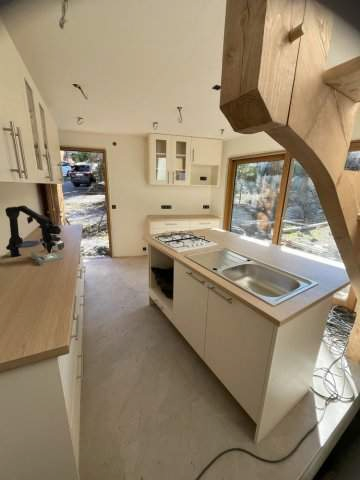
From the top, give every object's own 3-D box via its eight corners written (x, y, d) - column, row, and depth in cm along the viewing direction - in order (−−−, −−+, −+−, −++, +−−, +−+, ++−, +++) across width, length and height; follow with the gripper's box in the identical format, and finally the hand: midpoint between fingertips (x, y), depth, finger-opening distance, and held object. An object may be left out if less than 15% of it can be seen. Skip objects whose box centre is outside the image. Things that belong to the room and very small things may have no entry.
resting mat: (36, 257, 166) (36, 255, 166) (55, 253, 176) (55, 252, 176) (42, 262, 156) (42, 261, 155) (62, 258, 166) (62, 256, 166)
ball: (44, 253, 165) (43, 247, 163) (51, 252, 168) (50, 246, 167) (46, 255, 162) (45, 249, 160) (53, 253, 165) (52, 247, 164)
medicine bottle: (58, 251, 181) (57, 238, 178) (51, 250, 183) (50, 237, 180) (64, 248, 188) (63, 236, 185) (57, 248, 190) (56, 235, 186)
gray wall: (31, 256, 166) (30, 252, 165) (33, 256, 167) (32, 251, 166) (40, 265, 151) (39, 260, 150) (42, 264, 152) (42, 259, 151)
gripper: (61, 234, 160) (63, 253, 165) (53, 230, 172) (55, 247, 177) (45, 236, 152) (48, 256, 157) (38, 231, 164) (40, 250, 168)
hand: (48, 252), depth 165 cm, fingers closed on ball, 5 cm apart
